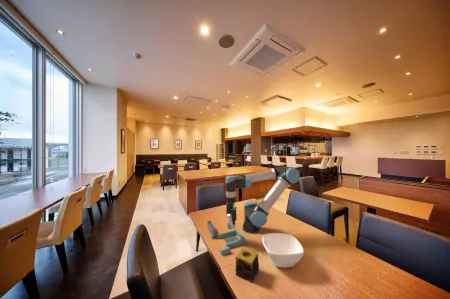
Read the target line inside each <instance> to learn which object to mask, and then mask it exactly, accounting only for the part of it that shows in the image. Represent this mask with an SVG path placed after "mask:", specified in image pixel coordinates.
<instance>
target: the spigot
mask: <svg viewBox="0 0 450 299" xmlns="http://www.w3.org/2000/svg"><path fill="white" fill-rule="evenodd" d="M226 216H227V221H226V222H227V229H228V230H233V229H232V227H231V220H232V217H231V213H228V214H227V215H226Z"/></svg>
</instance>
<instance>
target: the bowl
mask: <svg viewBox="0 0 450 299" xmlns="http://www.w3.org/2000/svg"><path fill="white" fill-rule="evenodd" d="M261 241H262V245H263V247H264V249H265V251H266V254H267V256H268V257H269V258H270V260H271V261H272V263H273V264H274V266H275V267H278V268H293V267H294V266H295V265H296V264H297V263H298V262H300V261H301V259H302V257H303V256H304V253H305V252H304V251H305V250H304V248H303V246H302V244H301V242H300V241H299V240H298V239H297V238H296V237H295V236H293V235H292V234H290V233H281V232H271V233H264V234H263V235H262V238H261Z"/></svg>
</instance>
